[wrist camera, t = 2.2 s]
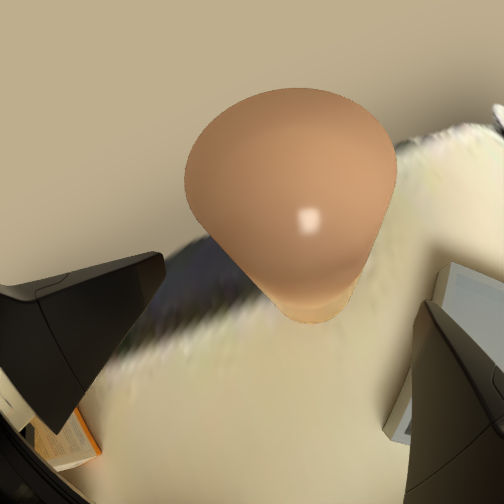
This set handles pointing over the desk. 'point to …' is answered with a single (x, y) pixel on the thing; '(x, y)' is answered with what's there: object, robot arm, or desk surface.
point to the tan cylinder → (294, 194)
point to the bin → (469, 319)
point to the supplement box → (65, 443)
